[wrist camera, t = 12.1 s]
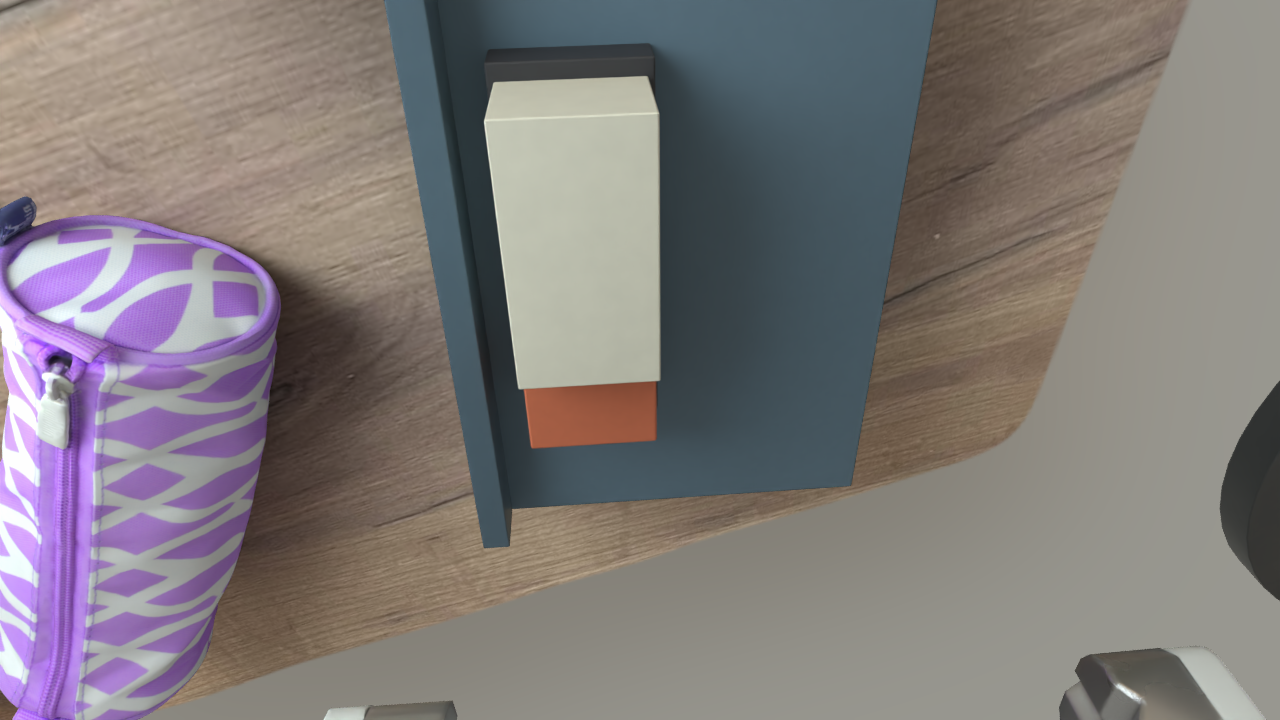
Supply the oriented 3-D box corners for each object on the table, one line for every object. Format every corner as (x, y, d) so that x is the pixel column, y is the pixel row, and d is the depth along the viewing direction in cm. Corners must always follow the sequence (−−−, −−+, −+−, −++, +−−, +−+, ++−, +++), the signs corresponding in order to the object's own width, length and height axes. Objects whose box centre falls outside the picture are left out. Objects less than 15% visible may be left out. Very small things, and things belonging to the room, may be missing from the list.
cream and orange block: (487, 48, 23) (472, 99, 19) (650, 42, 23) (667, 91, 19) (528, 390, 30) (523, 479, 26) (654, 383, 30) (667, 469, 26)
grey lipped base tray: (897, -221, 25) (1016, -229, 18) (814, 399, 39) (866, 521, 32) (403, -212, 24) (343, -217, 18) (497, 419, 38) (483, 549, 31)
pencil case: (52, 157, 29) (-131, 284, 22) (317, 232, 32) (238, 370, 24) (58, 560, 41) (-61, 739, 33) (254, 593, 43) (186, 767, 35)
